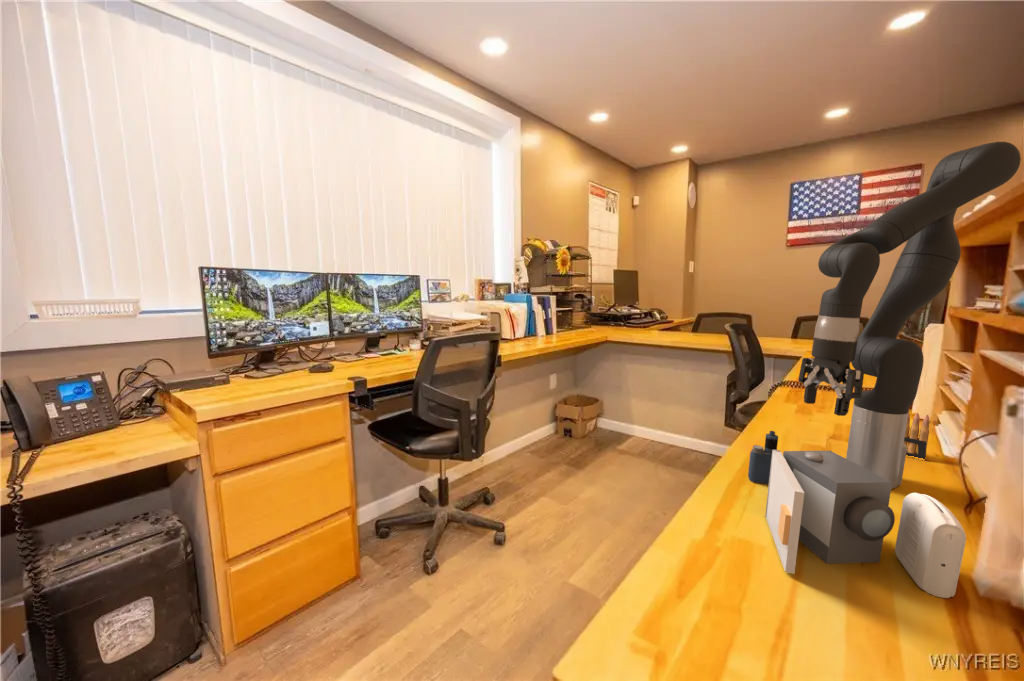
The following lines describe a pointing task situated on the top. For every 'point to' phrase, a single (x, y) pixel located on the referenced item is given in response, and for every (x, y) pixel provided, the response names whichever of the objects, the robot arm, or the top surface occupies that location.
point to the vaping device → (762, 460)
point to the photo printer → (930, 544)
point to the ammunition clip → (913, 436)
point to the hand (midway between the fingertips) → (823, 408)
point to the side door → (784, 510)
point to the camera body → (841, 507)
